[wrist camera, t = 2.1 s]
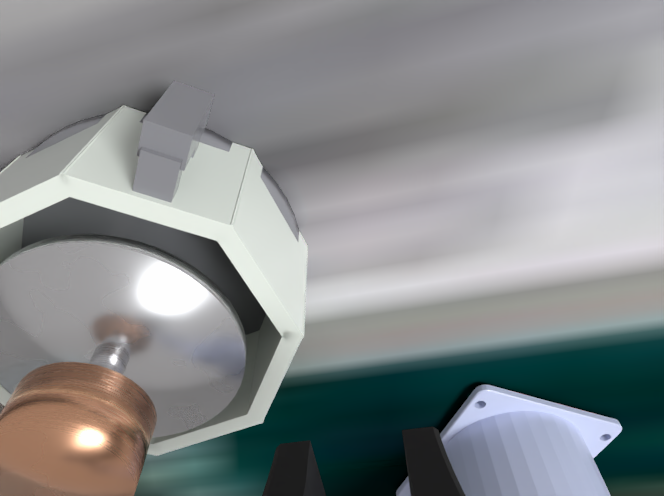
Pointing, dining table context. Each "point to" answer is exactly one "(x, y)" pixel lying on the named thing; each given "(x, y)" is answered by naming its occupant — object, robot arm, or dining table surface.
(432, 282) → the dining table surface
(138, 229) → the octagonal hollow frame
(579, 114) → the dining table surface
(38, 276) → the copper-knobbed silver dome
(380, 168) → the dining table surface
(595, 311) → the dining table surface
